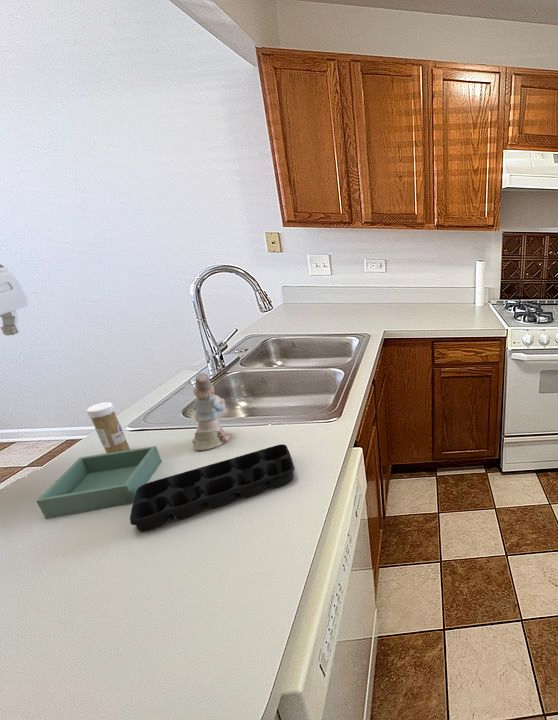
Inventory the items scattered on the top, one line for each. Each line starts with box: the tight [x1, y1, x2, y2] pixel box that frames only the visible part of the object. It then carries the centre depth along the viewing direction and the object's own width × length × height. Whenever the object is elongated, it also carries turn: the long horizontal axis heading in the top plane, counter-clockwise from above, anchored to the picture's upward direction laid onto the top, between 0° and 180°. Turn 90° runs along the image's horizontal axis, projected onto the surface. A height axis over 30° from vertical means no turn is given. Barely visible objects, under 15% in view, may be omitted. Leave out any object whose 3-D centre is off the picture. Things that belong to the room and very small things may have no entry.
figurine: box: [191, 372, 230, 451], centre depth 99 cm, size 9×8×20 cm
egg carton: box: [129, 443, 296, 533], centre depth 85 cm, size 18×30×4 cm, turn 135°
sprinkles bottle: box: [86, 401, 132, 454], centre depth 95 cm, size 5×5×14 cm
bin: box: [36, 445, 162, 519], centre depth 86 cm, size 15×15×4 cm
